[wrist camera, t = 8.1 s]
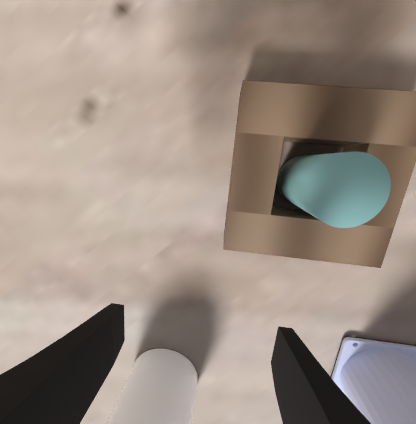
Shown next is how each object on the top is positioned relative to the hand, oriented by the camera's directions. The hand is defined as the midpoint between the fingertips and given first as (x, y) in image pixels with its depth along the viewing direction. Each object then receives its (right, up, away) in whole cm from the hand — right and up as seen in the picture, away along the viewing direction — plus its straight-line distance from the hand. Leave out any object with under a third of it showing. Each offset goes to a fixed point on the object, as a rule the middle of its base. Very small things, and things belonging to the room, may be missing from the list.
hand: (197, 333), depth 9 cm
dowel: (+8, +8, +8) cm, 14 cm away
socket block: (+8, +9, +8) cm, 14 cm away
